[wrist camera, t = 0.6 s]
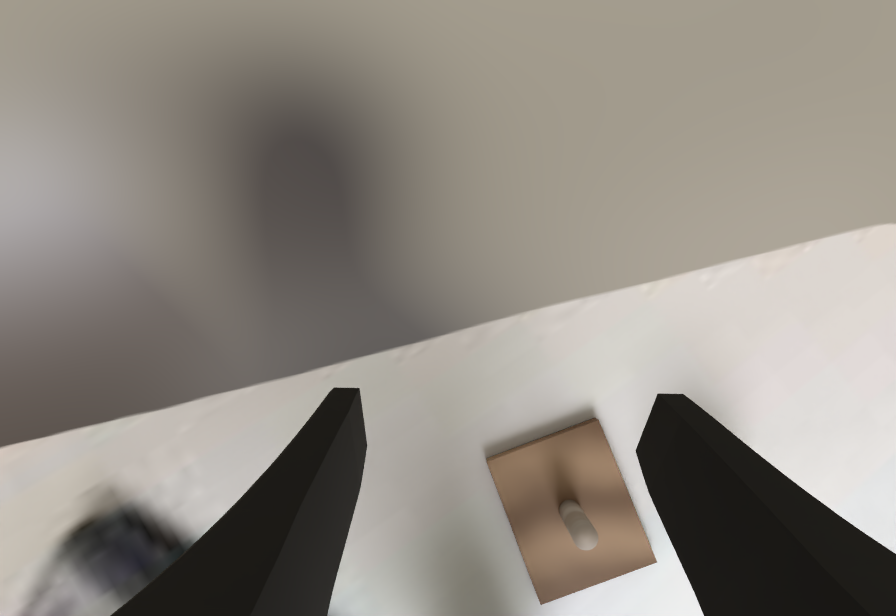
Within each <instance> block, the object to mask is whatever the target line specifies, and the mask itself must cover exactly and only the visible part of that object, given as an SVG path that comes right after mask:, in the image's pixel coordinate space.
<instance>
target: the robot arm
mask: <svg viewBox="0 0 896 616" xmlns="http://www.w3.org/2000/svg"><path fill="white" fill-rule="evenodd" d="M366 449H367V441H366V434H365V426H364V419H363V411H362V404H361V396H360V389H359V388H333V389H332V390H331V391H330V392H329V394H328V395H327V396H326V398H325V399H324V400H323V402H322V403H321V404H320V406H319V407H318V408H317V410H316V411H315V412H314V413H313V415H312V416H311V417H310V419H309V420H308V421H307V422H306V424H305V425H304V426H303V427H302V429H301V430H300V431H299V432H298V434H297V435H296V436H295V437H294V438H293V440H292V441H291V442H290V443H289V444H288V446H287V447H286V448H285V449H284V450H283V452H282V453H281V454H280V455H279V456H278V457H277V459H276V460H275V461H274V462H273V463H272V464H271V466H270V467H269V468H268V469H267V470H266V471H265V472H264V473H263V474H262V475H261V476H260V478H259V479H258V480H257V481H256V482H255V483H254V484H253V485H252V486H251V487H250V488H249V490H248V491H247V492H246V493H245V494H244V495H243V496H242V497H241V498H240V499H239V500H238V501H237V502H236V503H235V504H234V505H233V506H232V507H231V508H230V509H229V510H228V511H227V512H226V513H225V514H224V515H223V516H222V517H221V518H220V519H219V520H218V521H217V522H216V523H215V524H214V525H213V526H212V527H211V528H210V529H209V530H208V531H207V532H206V533H205V534H204V535H203V536H202V537H201V538H200V539H199V540H198V541H196V542H195V543H194V544H193V545H192V546H191V547H190V548H189V549H188V550H187V551H186V552H184V553H183V554H182V555H181V556H180V557H179V558H178V559H177V560H175V561H174V562H173V563H172V564H171V565H170V566H169V567H168V568H166V569H165V570H164V571H163V572H162V573H161V574H160V575H159V576H158V577H156V578H155V579H154V580H153V581H152V582H151V583H149V584H148V585H147V586H146V587H145V588H144V589H142V590H141V591H140V592H139V593H138V594H137V595H135V596H134V597H133V598H132V599H131V600H129V601H128V602H127V603H126V604H124V605H123V606H122V607H121V608H119V609H118V610H117V611H116V612H114V613H113V614H112V615H111V616H327V614H328V609H329V604H330V600H331V596H332V591H333V587H334V583H335V580H336V576H337V572H338V569H339V565H340V561H341V558H342V554H343V550H344V547H345V543H346V539H347V536H348V532H349V528H350V525H351V521H352V517H353V513H354V510H355V506H356V502H357V499H358V495H359V491H360V487H361V481H362V475H363V469H364V463H365V456H366ZM636 453H637V457H638V460H639V463H640V467H641V470H642V473H643V476H644V479H645V482H646V485H647V488H648V491H649V494H650V496H651V498H652V501H653V503H654V505H655V507H656V510H657V512H658V514H659V516H660V518H661V521H662V523H663V525H664V527H665V530H666V532H667V534H668V536H669V538H670V540H671V543H672V545H673V547H674V549H675V551H676V553H677V556H678V558H679V560H680V562H681V564H682V566H683V569H684V571H685V573H686V575H687V577H688V579H689V582H690V584H691V586H692V588H693V590H694V592H695V595H696V597H697V600H698V602H699V604H700V607H701V609H702V612H703V614H704V616H896V554H895V553H893V552H892V551H890V550H889V549H887V548H886V547H884V546H883V545H881V544H880V543H878V542H877V541H875V540H874V539H872V538H871V537H869V536H868V535H866V534H865V533H863V532H862V531H860V530H859V529H858V528H856V527H855V526H853V525H852V524H850V523H849V522H848V521H846V520H845V519H843V518H842V517H840V516H839V515H838V514H836V513H835V512H834V511H832V510H831V509H829V508H828V507H827V506H825V505H824V504H823V503H821V502H820V501H819V500H817V499H816V498H815V497H813V496H812V495H810V494H809V493H808V492H806V491H805V490H804V489H802V488H801V487H800V486H798V485H797V484H796V483H794V482H793V481H792V480H791V479H789V478H788V477H787V476H785V475H784V474H783V473H781V472H780V471H779V470H778V469H776V468H775V467H774V466H772V465H771V464H770V463H769V462H767V461H766V460H765V459H764V458H762V457H761V456H760V455H759V454H757V453H756V452H755V451H754V450H752V449H751V448H750V447H749V446H747V445H746V444H745V443H744V442H742V441H741V440H740V439H739V438H738V437H736V436H735V435H734V434H733V433H731V432H730V431H729V430H728V429H726V428H725V427H724V426H723V425H722V424H720V423H719V422H718V421H717V420H715V419H714V418H713V417H712V416H710V415H709V414H708V413H707V412H706V411H704V410H703V409H702V408H701V407H699V406H698V405H697V404H695V403H694V402H693V401H692V400H690V399H689V398H688V397H686V396H685V395H684V394H657V397H656V400H655V402H654V405H653V407H652V410H651V413H650V415H649V418H648V420H647V423H646V425H645V428H644V431H643V433H642V436H641V438H640V441H639V443H638V446H637V449H636Z"/></svg>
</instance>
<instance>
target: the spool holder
mask: <svg viewBox="0 0 896 616" xmlns="http://www.w3.org/2000/svg"><path fill="white" fill-rule="evenodd" d="M486 460H487V464H488V466H489V469H490V472H491V474H492V477H493V480H494V482H495V485H496V488H497V490H498V493H499V496H500V498H501V501H502V503H503V506H504V509H505V511H506V514H507V517H508V519H509V522H510V525H511V527H512V530H513V533H514V535H515V538H516V541H517V543H518V546H519V548H520V551H521V554H522V556H523V559H524V562H525V564H526V567H527V570H528V572H529V575H530V578H531V580H532V583H533V585H534V588H535V591H536V593H537V596H538V599H539V601H540V604H541V605H542V604H545V603H547V602H550V601H553V600H555V599H558V598H561V597H564V596H566V595H569V594H572V593H575V592H577V591H580V590H583V589H585V588H588V587H591V586H594V585H596V584H599V583H602V582H605V581H607V580H610V579H613V578H616V577H618V576H621V575H624V574H626V573H629V572H632V571H635V570H637V569H640V568H643V567H646V566H648V565H651V564H654V563H656V562H657V561H656V558H655V556H654V554H653V551H652V549H651V546H650V544H649V541H648V539H647V537H646V534H645V532H644V529H643V527H642V524H641V522H640V520H639V517H638V515H637V512H636V510H635V507H634V505H633V502H632V500H631V498H630V495H629V493H628V490H627V488H626V485H625V483H624V481H623V478H622V476H621V473H620V471H619V468H618V466H617V464H616V461H615V459H614V456H613V454H612V451H611V449H610V446H609V444H608V442H607V439H606V437H605V434H604V432H603V429H602V427H601V425H600V422H599V420H598V419H596V418H593V419H590V420H588V421H585V422H582V423H580V424H577V425H574V426H572V427H569V428H566V429H564V430H561V431H558V432H556V433H553V434H550V435H548V436H545V437H542V438H540V439H537V440H535V441H532V442H529V443H527V444H524V445H521V446H519V447H516V448H513V449H511V450H508V451H505V452H503V453H500V454H497V455H495V456H492V457H489V458H487V459H486Z"/></svg>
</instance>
